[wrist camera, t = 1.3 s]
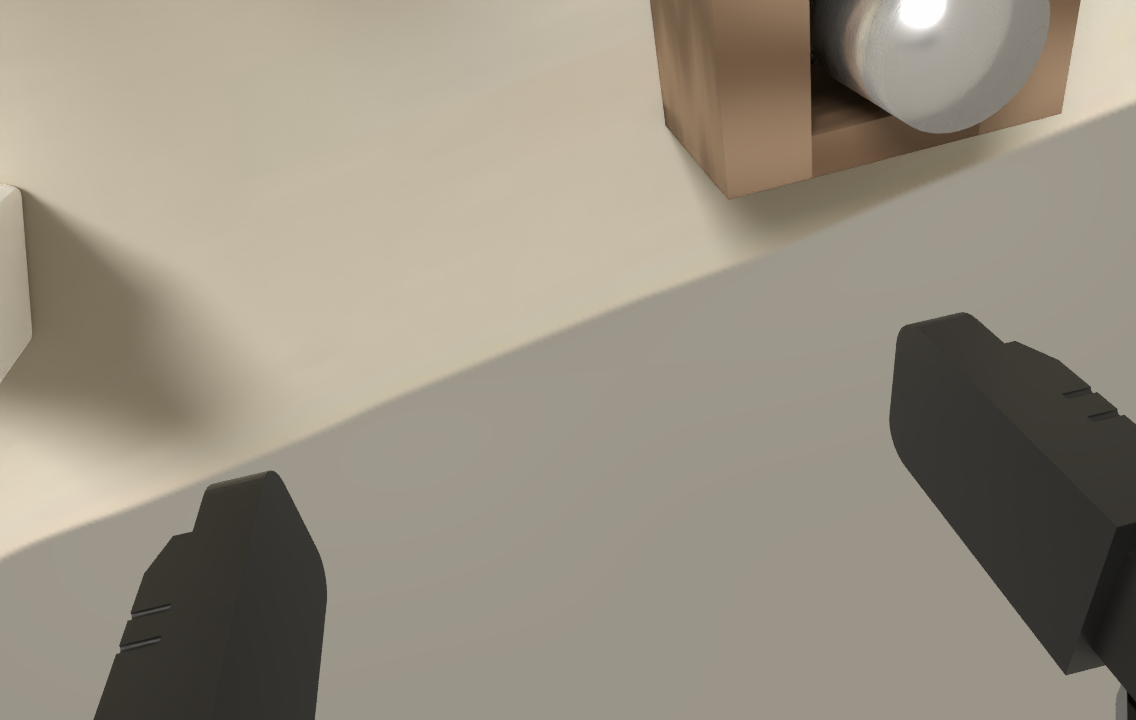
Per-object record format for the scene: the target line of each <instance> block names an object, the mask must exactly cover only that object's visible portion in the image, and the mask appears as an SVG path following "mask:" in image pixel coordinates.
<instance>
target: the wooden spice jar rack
mask: <svg viewBox="0 0 1136 720" xmlns="http://www.w3.org/2000/svg"><path fill="white" fill-rule="evenodd" d="M1049 2H1050V22H1049V30H1048V34H1047V39H1046V42H1045V45H1044V48H1043V51H1042V53H1041V56H1040V58H1039V60H1038V62H1037V64H1036V66H1035V68H1034V70H1033V72H1032V73H1031V75H1030V76H1029V78H1028V79H1027V81H1026V82H1025V84H1024V85H1023V86H1022V87H1021V89H1020V90H1019V91H1018V92H1017V94H1016V95H1015V96H1014V97H1013V98H1012V99H1011V100H1010V101H1009V102H1008V103H1007V104H1006V105H1004V106H1003V107H1002V108H1001V109H1000V110H999V111H997V112H996V113H994V114H993V115H992V116H990V117H989V118H987V119H985V120H984V121H982V122H980V123H978V124H976V125H974V126H971V127H969V128H966V129H963V130H960V131H956V132H951V133H939V134H938V133H928V132H924V131H920V130H918V129H916V128H913V127H911V126H910V125H908V124H906V123H905V122H903V121H902V120H900V119H898V118H897V117H895V116H893V115H892V114H890V113H889V112H887V111H885V110H884V109H882V108H881V107H879V106H877V105H876V104H874V103H872V102H871V101H869V100H868V99H866V98H864V97H863V96H861V95H860V94H858V93H856V92H855V91H853V90H851V89H850V88H848V87H847V86H845V85H843V84H842V83H840V82H839V81H837V80H835V79H834V78H832V77H831V76H829V75H828V74H827V73H826V72H825V71H824V70H823V69H822V68H821V66H820V65H819V64H818V63H815V64H811V65H810V10H809V0H650V4H651V12H652V20H653V28H654V36H655V44H656V52H657V60H658V68H659V76H660V84H661V92H662V100H663V108H664V116H665V124H666V126H667V127H668V129H669V130H670V131H671V132H672V133H673V135H674V136H675V137H676V138H677V139H678V140H679V142H680V143H681V144H682V145H683V146H684V148H685V149H686V150H687V151H688V152H689V154H690V155H691V156H692V157H693V158H694V160H695V161H696V162H697V163H698V164H699V165H700V167H701V168H702V169H703V170H704V171H705V173H706V174H707V175H708V176H709V177H710V179H711V180H712V181H713V182H714V183H715V185H716V186H717V187H718V188H719V189H720V190H721V192H722V193H723V194H724V195H725V196H726V198H727V199H728V200H729V199H732V198H736V197H740V196H744V195H748V194H752V193H756V192H760V191H763V190H767V189H771V188H775V187H779V186H783V185H787V184H791V183H794V182H798V181H802V180H806V179H810V178H814V177H818V176H822V175H825V174H829V173H833V172H837V171H841V170H845V169H849V168H853V167H856V166H860V165H864V164H868V163H872V162H876V161H880V160H884V159H887V158H891V157H895V156H899V155H903V154H907V153H911V152H915V151H918V150H922V149H926V148H930V147H934V146H938V145H942V144H946V143H949V142H953V141H957V140H961V139H965V138H969V137H973V136H977V135H980V134H984V133H988V132H992V131H996V130H1000V129H1004V128H1008V127H1011V126H1015V125H1019V124H1023V123H1027V122H1031V121H1035V120H1038V119H1042V118H1046V117H1050V116H1054V115H1058V114H1061V112H1062V106H1063V100H1064V94H1065V88H1066V82H1067V76H1068V71H1069V65H1070V59H1071V53H1072V47H1073V41H1074V36H1075V30H1076V24H1077V18H1078V12H1079V6H1080V0H1049Z"/></svg>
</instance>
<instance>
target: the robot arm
mask: <svg viewBox="0 0 1136 720" xmlns="http://www.w3.org/2000/svg"><path fill="white" fill-rule="evenodd" d="M889 421H890V431H891V436H892V440H893V443H894V446H895V448H896V451H897V453H898V455H899V457H900V459H901V461H902V462H903V464H904V465H905V467H906V468H907V469H908V471H909V472H910V473H911V474H912V476H913V477H914V478H915V480H916V481H917V482H918V484H919V485H920V486H921V488H922V489H923V490H924V491H925V493H926V494H927V495H928V497H929V498H930V499H931V501H932V502H933V503H934V504H935V505H936V507H937V508H938V510H939V511H940V512H941V514H942V515H943V516H944V517H945V519H946V520H947V521H948V522H949V524H950V525H951V527H952V528H953V529H954V530H955V532H956V533H957V534H958V535H959V537H960V538H961V540H962V541H963V542H964V543H965V545H966V546H967V547H968V549H969V550H970V551H971V553H972V554H973V555H974V556H975V558H976V559H977V560H978V562H979V563H980V564H981V565H982V567H983V568H984V570H985V571H986V572H987V573H988V575H989V576H990V577H991V578H992V580H993V581H994V582H995V584H996V585H997V586H998V588H999V589H1000V590H1001V592H1002V593H1003V594H1004V596H1005V597H1006V598H1007V600H1008V601H1009V602H1010V603H1011V605H1012V606H1013V607H1014V609H1015V610H1016V611H1017V613H1018V614H1019V615H1020V616H1021V618H1022V619H1023V620H1024V622H1025V623H1026V624H1027V625H1028V627H1029V628H1030V629H1031V631H1032V632H1033V633H1034V635H1035V636H1036V637H1037V639H1038V640H1039V641H1040V642H1041V644H1042V645H1043V646H1044V648H1045V649H1046V650H1047V651H1048V653H1049V654H1050V655H1051V657H1052V658H1053V659H1054V661H1055V662H1056V663H1057V665H1058V666H1059V667H1060V668H1061V670H1062V671H1063V672H1064V674H1065V675H1069V674H1073V673H1076V672H1080V671H1085V670H1088V669H1092V668H1096V667H1100V666H1104V665H1106V666H1107V667H1108V668H1109V670H1110V671H1111V672H1112V673H1113V675H1114V676H1115V677H1116V678H1117V679H1118V681H1119V682H1120V683H1121V685H1120V688H1119V690H1118V693H1117V696H1116V720H1136V424H1135V423H1133V422H1132V421H1131V420H1130V419H1129V418H1127V417H1126V416H1125V415H1122V416H1120V415H1119V414H1118V412H1117V408H1116V407H1114V406H1113V405H1112V404H1111V403H1109V402H1108V401H1107V400H1106V399H1105V398H1103V397H1102V396H1101V395H1100V394H1099V393H1097V392H1096V393H1092V391H1091V387H1090V386H1089V385H1088V384H1087V383H1085V382H1084V381H1083V380H1082V379H1081V378H1079V377H1078V376H1077V375H1076V374H1075V373H1073V372H1072V371H1071V370H1070V369H1069V368H1067V367H1066V366H1065V365H1064V364H1063V363H1061V362H1060V361H1059V360H1057V359H1055V358H1053V357H1050V356H1048V355H1046V354H1044V353H1041V352H1039V351H1037V350H1035V349H1032V348H1030V347H1028V346H1026V345H1023V344H1021V343H1019V342H1016V341H1013V342H1009V343H1005V344H1004V343H1003V342H1002V341H1001V340H1000V339H999V338H998V337H996V336H995V335H994V334H993V333H992V332H991V331H990V330H988V329H987V328H986V327H985V326H984V325H983V324H982V323H980V322H979V321H978V320H977V319H976V318H974V317H973V316H972V315H970V314H968V313H964V312H962V313H956V314H952V315H948V316H943V317H939V318H935V319H931V320H926V321H922V322H917V323H913V324H909V325H905V326H904V327H902V328H901V330H900V332H899V334H898V337H897V343H896V353H895V364H894V375H893V385H892V395H891V406H890V417H889ZM326 603H327V586H326V578H325V572H324V568H323V564H322V560H321V557H320V554H319V552H318V550H317V548H316V546H315V544H314V542H313V540H312V538H311V536H310V534H309V532H308V530H307V528H306V526H305V524H304V522H303V520H302V518H301V516H300V514H299V512H298V510H297V508H296V506H295V504H294V502H293V500H292V498H291V496H290V494H289V492H288V490H287V489H286V486H285V484H284V483H283V481H282V479H281V478H280V476H279V475H278V474H277V473H276V472H274V471H266V472H262V473H258V474H253V475H249V476H245V477H240V478H236V479H232V480H228V481H223V482H219V483H215V484H212V485H210V486H208V487H207V490H206V491H205V493H204V496H203V499H202V502H201V506H200V509H199V512H198V516H197V519H196V522H195V526H194V529H193V532H189V533H185V534H180V535H176V536H173V537H172V538H171V540H170V541H169V542H168V543H167V545H166V546H165V547H164V549H163V550H162V551H161V553H160V554H159V555H158V556H157V558H156V559H155V560H154V562H153V563H152V564H151V565H150V567H149V568H148V570H147V571H146V572H145V573H144V576H143V579H142V582H141V585H140V587H139V590H138V593H137V596H136V599H135V602H134V605H133V607H132V610H131V614H132V620H129V621H128V622H127V625H126V628H125V630H124V633H123V636H122V639H121V642H120V645H119V646H120V649H121V652H120V653H119V654H116V657H115V659H114V662H113V665H112V668H111V671H110V674H109V677H108V680H107V683H106V685H105V688H104V691H103V694H102V697H101V700H100V703H99V706H98V708H97V711H96V714H95V717H94V720H315V712H316V702H317V691H318V681H319V672H320V662H321V653H322V642H323V633H324V623H325V613H326Z"/></svg>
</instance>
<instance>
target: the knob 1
mask: <svg viewBox="0 0 1136 720" xmlns="http://www.w3.org/2000/svg"><path fill="white" fill-rule="evenodd" d="M1049 22H1050V2H1049V0H813V2H812V6H811V10H810V44H811V48H812V51H813V54H814V56H815V58H816V60H817V62H818V64H819V65H820V66H821V68H822V69H823V70H824V71H825V72H826V73H827V74H828V75H829V76H831V77H832V78H834V79H835V80H837V81H839V82H840V83H842V84H843V85H845V86H847V87H848V88H850V89H851V90H853V91H855V92H856V93H858V94H860V95H861V96H863V97H864V98H866V99H868V100H869V101H871V102H872V103H874V104H876V105H877V106H879V107H881V108H882V109H884V110H885V111H887V112H889V113H890V114H892V115H893V116H895V117H897V118H898V119H900V120H902V121H903V122H905V123H906V124H908V125H910V126H911V127H913V128H916V129H918V130H920V131H924V132H928V133H938V134H939V133H951V132H956V131H960V130H963V129H966V128H969V127H971V126H974V125H976V124H978V123H980V122H982V121H984V120H985V119H987V118H989V117H990V116H992V115H993V114H994V113H996V112H997V111H999V110H1000V109H1001V108H1002V107H1003V106H1004V105H1006V104H1007V103H1008V102H1009V101H1010V100H1011V99H1012V98H1013V97H1014V96H1015V95H1016V94H1017V92H1018V91H1019V90H1020V89H1021V87H1022V86H1023V85H1024V84H1025V82H1026V81H1027V79H1028V78H1029V76H1030V75H1031V73H1032V72H1033V70H1034V68H1035V66H1036V64H1037V62H1038V60H1039V58H1040V56H1041V53H1042V51H1043V48H1044V45H1045V42H1046V39H1047V34H1048V30H1049Z"/></svg>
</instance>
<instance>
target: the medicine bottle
mask: <svg viewBox="0 0 1136 720" xmlns="http://www.w3.org/2000/svg"><path fill="white" fill-rule="evenodd" d="M31 338H32V322H31V309H30V296H29V284H28V271H27V258H26V245H25V233H24V220H23V207H22V195H21V192H20V191H19V190H18V189H17V188H16V187H14V186H11V185H5V184H0V383H1V381H2V380H3V379H4V377H5V376H6V374H7V373H8V371H9V370H10V369H11V367H12V366H13V364H14V363H15V361H16V360H17V359H18V357H19V356H20V354H21V353H22V352H23V350H24V349H25V347H26V346H27V344H28V343H29V342H30V340H31Z"/></svg>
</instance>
